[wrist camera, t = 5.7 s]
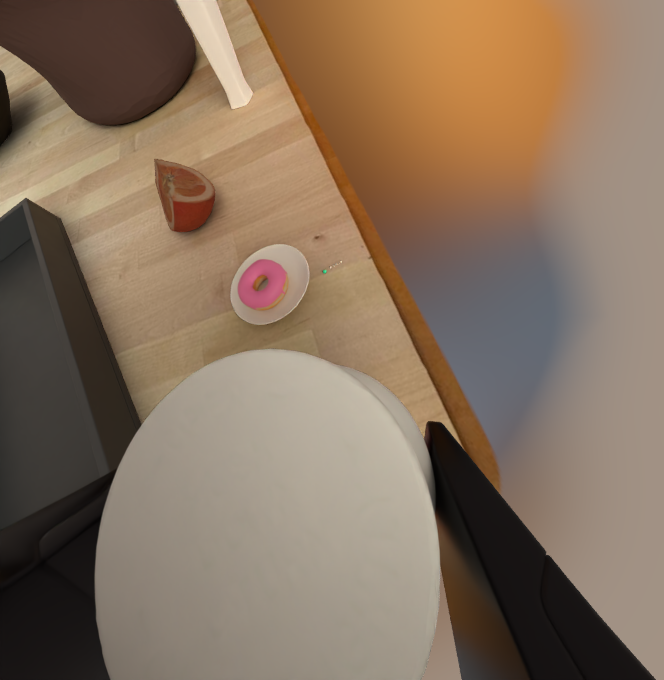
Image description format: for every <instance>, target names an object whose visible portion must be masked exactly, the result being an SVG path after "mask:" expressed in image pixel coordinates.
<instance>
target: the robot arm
mask: <svg viewBox="0 0 664 680" xmlns="http://www.w3.org/2000/svg"><path fill="white" fill-rule="evenodd" d="M424 441H425V444H426V446H427V449H428V452H429V455H430V459H431V463H432V468H433V473H434V480H435V492H436V507H435V519H436V525H437V531H438V540H439V550H440V566H441V571H442V576H443V582H444V587H445V592H446V598H447V603H448V608H449V614H450V619H451V624H452V630H453V635H454V640H455V646H456V651H457V657H458V662H459V667H460V673H461V678H462V680H656V679H655V678H654V677H653V676H652V675H651V674H650V673H649V671H648V670H647V669H646V668H645V667H644V666H643V665H642V664H641V663H640V661H639V660H638V659H637V658H636V657H635V656H634V655H633V654H632V652H631V651H630V650H629V649H628V648H627V647H626V646H625V644H624V643H623V642H622V641H621V640H620V639H619V638H618V636H617V635H615V633H614V632H613V631H612V630H611V629H610V627H609V626H608V625H607V624H606V623H605V622H604V621H603V620H602V618H601V617H600V616H599V615H598V614H597V612H596V611H595V610H594V609H593V608H592V607H591V605H590V604H589V603H588V602H587V600H586V599H585V598H584V597H583V596H582V595H581V593H580V592H579V591H578V590H577V589H576V588H575V586H574V585H573V584H572V583H571V581H570V580H569V579H568V578H567V577H566V575H565V574H564V573H563V572H562V570H561V569H560V568H559V567H558V565H557V564H556V563H555V562H554V561H553V559H552V558H551V557H550V556H549V555H546V551H545V550H544V548H543V547H542V546H541V545H540V543H539V542H538V541H537V540H536V538H535V537H534V536H533V535H532V533H531V532H530V531H529V530H528V529H527V527H526V526H525V525H524V524H523V523H522V521H521V520H520V519H519V517H518V516H517V515H516V514H515V512H514V511H513V510H512V509H511V508H510V506H509V505H508V504H507V503H506V501H505V500H504V499H503V498H502V496H501V495H500V494H499V493H498V491H497V490H496V489H495V488H494V486H493V485H492V484H491V483H490V482H489V480H488V479H487V478H486V477H485V475H484V474H483V473H482V472H481V470H480V469H479V468H478V467H477V465H476V464H475V463H474V462H473V461H472V459H471V458H470V457H469V456H468V454H467V453H466V452H465V451H464V449H463V448H462V447H461V446H460V444H459V443H458V442H457V441H456V440H455V438H454V437H453V436H452V435H451V433H450V432H449V431H448V430H447V428H446V427H445V426H444V425H443V424H442V423H441V422H433V421H428V422H427V424H426V430H425V437H424ZM117 469H118V468H116V469H114V470H113V471H111V472H109V473H107V474H106V475H104V476H102V477H100V478H99V479H97V480H95V481H93V482H91V483H90V484H88V485H86V486H84V487H82V488H80V489H79V490H77V491H75V492H73V493H71V494H69V495H67V496H65V497H63V498H62V499H60V500H58V501H56V502H54V503H52V504H50V505H48V506H46V507H44V508H42V509H40V510H38V511H36V512H34V513H33V514H31V515H29V516H27V517H25V518H23V519H21V520H19V521H17V522H15V523H13V524H11V525H9V526H7V527H5V528H3V529H1V530H0V680H110V677H109V674H108V671H107V668H106V665H105V662H104V658H103V654H102V646H101V642H100V638H99V631H98V626H97V621H96V603H95V562H96V547H97V542H98V535H99V529H100V523H101V519H102V514H103V510H104V507H105V503H106V500H107V497H108V494H109V491H110V487H111V485H112V482H113V479H114V477H115V474H116V471H117Z"/></svg>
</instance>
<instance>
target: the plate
mask: <svg viewBox="0 0 664 680" xmlns="http://www.w3.org/2000/svg"><path fill="white" fill-rule="evenodd" d="M11 130H12V126H11V112H10V99H9V94H8V89H7V85H6V80H5V75H4V73H3V72H2V71H1V70H0V146H1V145H2V144H3V143H4V142H5V140H6V139H7V138H8V136H9V135H10V133H11Z"/></svg>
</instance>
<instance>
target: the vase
mask: <svg viewBox="0 0 664 680" xmlns="http://www.w3.org/2000/svg"><path fill="white" fill-rule="evenodd" d="M0 46H2V47H3V48H5V49H6V50H8V51H9V52H11V53H12V54H14V55H16V56H17V57H19V58H20V59H21V60H23V61H24V62H26V63H27V64H28V65H30V66H31V67H32V68H34V69H35V70H36V71H37V72H38V73H40V74H41V75H42V76H43V77H44V78H45V79H46V80H47V81H48V82H49V83H50V84H51V85H52V87H53V88H54V89H55V90H56V91H57V93H58V94H59V95H60V96H61V97H62V99H63V100H64V101H65V102H66V103H67V104H68V105H69V107H70V108H71V109H72V110H73V111H74V112H75V113H76V114H77V115H79V116H81V117H82V118H84V119H85V120H87V121H89V122H92V123H96V124H102V125H120V124H125V123H129V122H132V121H135V120H138V119H140V118H142V117H144V116H146V115H147V114H149V113H151V112H152V111H154V110H156V109H157V108H159V107H160V106H162V105H163V104H165V103H166V102H167V101H168V100H169V99H170V98H171V97H172V96H173V95H174V94H175V93H176V92H177V91H178V90H179V89H180V87H181V86H182V85H183V83H184V82H185V80H186V79H187V77H188V75H189V73H190V72H191V69H192V67H193V64H194V61H195V56H196V46H195V41H194V37H193V34H192V32H191V30H190V28H189V26H188V25H187V23H186V21H185V20H184V18H183V16H182V14H181V13H180V11H179V9H178V8H177V6H176V4H175V2H174V1H173V0H0Z"/></svg>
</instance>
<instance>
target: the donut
mask: <svg viewBox="0 0 664 680" xmlns="http://www.w3.org/2000/svg"><path fill="white" fill-rule="evenodd" d="M340 261H341V260H340ZM341 263H342V261H341ZM335 264H336V263H335ZM338 264H339V263H338ZM336 266H337V264H336ZM333 267H334V265H333ZM330 269H331V267H330ZM326 272H327V271H326V270H323V273H326ZM308 283H309V266H308V263H307V260H306V258H305V257H304V255H303V254H302V253H301V252H300V251H299V250H298V249H296V248H294V247H292V246H289V245H285V244H275V245H270V246H267V247H264V248H262V249H260V250H258V251H256V252H255V253H253V254H252V255H251V256H249V257H248V258H247V259H246V260H245V261H244V262H243V264H242V265H241V266H240V267H239V269H238V271H237V272H236V274H235V276H234V279H233V282H232V286H231V293H230V298H231V304H232V307H233V309H234V311H235V312H236V314H237V315H238V316H239V317H240V318H241V319H242V320H244V321H246V322H248V323H250V324H256V325H262V324H269V323H273V322H275V321H277V320H280V319H282V318H283V317H285V316H286V315H287V314H289V313H290V312H291V311H292V310H293V309H294V308H295V307H296V306H297V305H298V304H299V302H300V301H301V299H302V298H303V296H304V294H305V292H306V289H307V286H308Z"/></svg>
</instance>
